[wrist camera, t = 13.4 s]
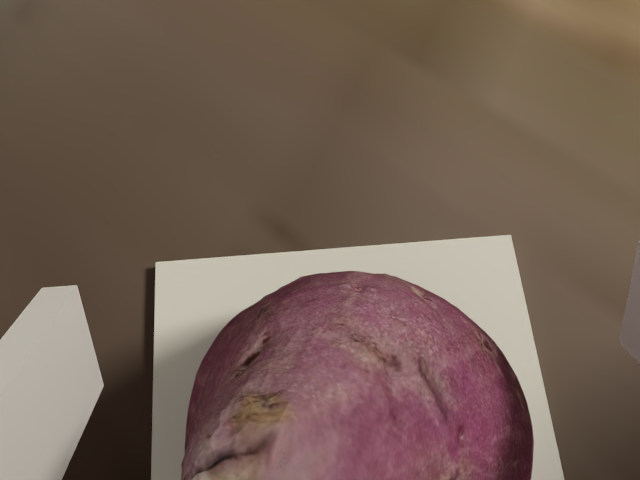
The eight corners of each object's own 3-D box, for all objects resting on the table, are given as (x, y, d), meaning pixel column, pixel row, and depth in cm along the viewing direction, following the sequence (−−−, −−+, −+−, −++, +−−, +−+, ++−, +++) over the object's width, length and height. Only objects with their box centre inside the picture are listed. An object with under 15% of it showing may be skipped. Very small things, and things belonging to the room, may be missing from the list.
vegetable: (273, 608, 20) (-141, 1275, 6) (204, 332, 23) (-215, 327, 8) (562, 538, 19) (960, 1210, 4) (457, 249, 21) (488, 61, 7)
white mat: (506, 239, 23) (510, 234, 22) (595, 650, 18) (602, 656, 17) (158, 265, 22) (155, 262, 22) (150, 696, 17) (146, 703, 17)
